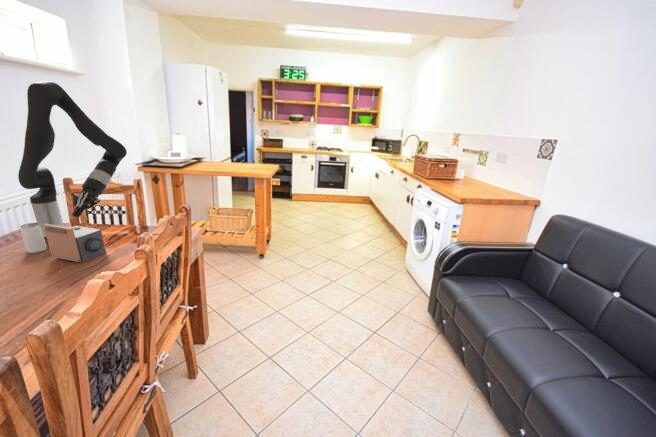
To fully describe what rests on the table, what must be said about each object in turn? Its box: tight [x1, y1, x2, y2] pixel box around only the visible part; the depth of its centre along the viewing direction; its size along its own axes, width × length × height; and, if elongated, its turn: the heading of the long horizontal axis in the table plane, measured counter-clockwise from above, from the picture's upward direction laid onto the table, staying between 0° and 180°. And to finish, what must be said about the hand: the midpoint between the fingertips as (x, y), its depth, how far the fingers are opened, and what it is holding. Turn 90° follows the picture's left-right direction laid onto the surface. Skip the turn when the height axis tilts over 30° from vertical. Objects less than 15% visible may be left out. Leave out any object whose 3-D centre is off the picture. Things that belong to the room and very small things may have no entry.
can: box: [19, 222, 48, 254], centre depth 130 cm, size 6×6×12 cm
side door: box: [43, 224, 82, 263], centre depth 120 cm, size 14×2×15 cm, turn 75°
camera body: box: [70, 225, 107, 263], centre depth 127 cm, size 16×10×12 cm, turn 75°
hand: (75, 216), depth 124 cm, fingers closed
